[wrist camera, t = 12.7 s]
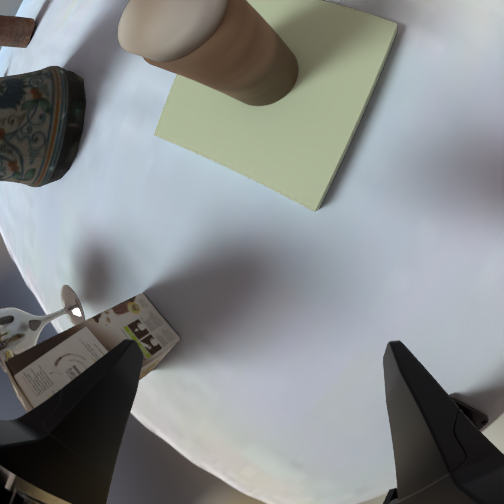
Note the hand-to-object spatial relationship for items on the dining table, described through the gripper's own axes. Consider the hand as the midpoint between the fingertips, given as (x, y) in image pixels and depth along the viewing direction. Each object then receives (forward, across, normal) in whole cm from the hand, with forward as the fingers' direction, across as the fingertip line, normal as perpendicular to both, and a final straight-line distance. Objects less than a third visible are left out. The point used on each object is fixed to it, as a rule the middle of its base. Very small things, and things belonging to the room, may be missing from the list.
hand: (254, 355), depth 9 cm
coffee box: (+12, +15, +13) cm, 23 cm away
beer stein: (+24, +30, -10) cm, 40 cm away
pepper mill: (+14, 0, -10) cm, 17 cm away
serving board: (+15, 0, -9) cm, 17 cm away
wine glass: (+17, +31, +14) cm, 38 cm away
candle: (+39, +50, -40) cm, 74 cm away
